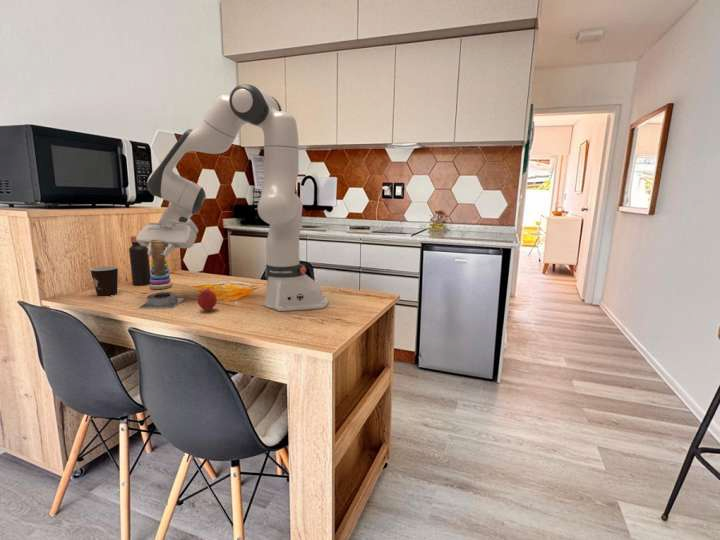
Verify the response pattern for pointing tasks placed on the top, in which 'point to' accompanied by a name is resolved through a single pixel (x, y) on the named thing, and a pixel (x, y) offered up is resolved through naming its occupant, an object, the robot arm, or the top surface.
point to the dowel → (158, 258)
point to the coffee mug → (105, 280)
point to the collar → (162, 300)
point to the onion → (207, 299)
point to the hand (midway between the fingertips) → (156, 255)
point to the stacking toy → (160, 278)
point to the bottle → (139, 263)
